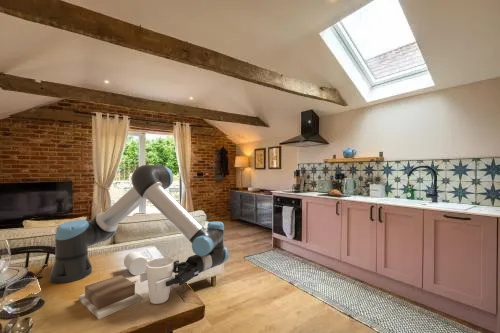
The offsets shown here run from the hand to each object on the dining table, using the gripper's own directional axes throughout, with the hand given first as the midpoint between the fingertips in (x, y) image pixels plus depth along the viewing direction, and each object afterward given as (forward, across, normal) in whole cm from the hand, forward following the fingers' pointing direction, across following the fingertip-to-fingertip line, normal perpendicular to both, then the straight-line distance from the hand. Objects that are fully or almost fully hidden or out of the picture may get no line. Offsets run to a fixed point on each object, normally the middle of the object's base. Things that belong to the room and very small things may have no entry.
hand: (148, 282), depth 83 cm
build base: (+7, +14, -8) cm, 18 cm away
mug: (-13, +31, -9) cm, 35 cm away
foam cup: (-4, 0, -8) cm, 9 cm away
